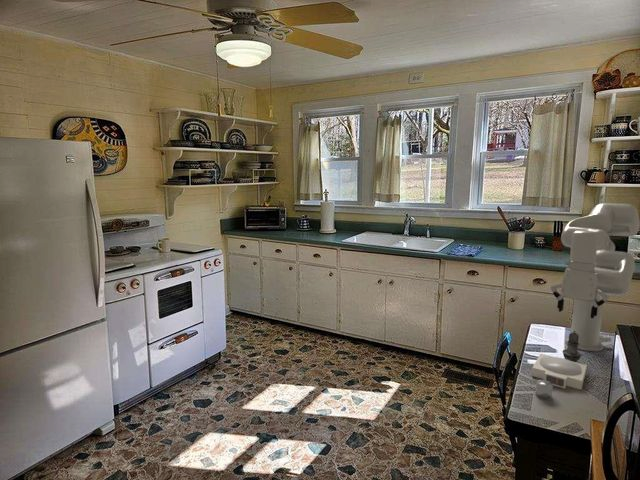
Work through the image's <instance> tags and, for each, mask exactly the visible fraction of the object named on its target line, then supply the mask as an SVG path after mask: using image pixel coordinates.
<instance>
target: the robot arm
mask: <svg viewBox="0 0 640 480" xmlns="http://www.w3.org/2000/svg"><path fill="white" fill-rule="evenodd" d="M639 231H640V217H639V212H638V209H637V208H636V207H635V205H633V204H629V203H614V202H607V203H606V202H603V203H598V204H597V205H595V206H594V207H593V208H592V210H591V211H590V213H589V214H588V215H586V216H582V217H578V218H575V219H571V220H570V221H569V222H567V223H566V225H565V227H564V228H563V230H562V232H561V235H560V236H561V237H560V241H561V243H562V245H563V246H564V247H566V248H570V252H569V253H570V254H569V259H568V260H564V266H567V268H565V270H564V273H563V277H562V283H558V284H554V285H552V286H550V290H551V292H552V294H553V296H554V297H555V298H556V300H557V309H558V312H559V313H561V312H563V311H564V304H565V299H564V298H567V299H572V300H573V310H572V318H571V325H570V333H573V331H575V333H577V334H578V335H579V338H578V343H579V345H578V350H582V351H586V352H600V351H602V350H603V349H604V345H603V344H602V343H604V342H605V343H611V342H612V337H611V336H603V335H602V334H601V327H602V318H603V311H604V304H605V303H606V301H607V300H608V299H610V296H616V297H623V296H625V295H627V293H629V289H630V286H631V283H632V279H633V274H634V271H635V266H636V263H635V257H634V256H633V255H632V254H631V253H629V252H626V251H618V250H616V245H615V242H613V241H612V240H611V239H610V238H611V237H610V236H617V237H618V236H620V237H634V236H637V234H638V233H639ZM558 289H560V293H559V292H558ZM601 297H602V298H601ZM567 341H569V336H567V337H565V339H564V342H565V344H566V345H568V343H567Z"/></svg>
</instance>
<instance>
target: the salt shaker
mask: <svg viewBox="0 0 640 480" xmlns="http://www.w3.org/2000/svg"><path fill="white" fill-rule="evenodd" d="M568 337H569V341H567V343H568V344H567V343H566V344H567V348H566V349H563V350H562V351H561V352H562V355H563V357H564V359H567V360H570V361H573V362H577V363H580V362H579V360H580V359H581V357H582V356H583V355H582V353H580V352H579V349H578V345H579V343H578V338H579V335H578V334H577V333H575V331H573V333H571V332H569V335H568Z"/></svg>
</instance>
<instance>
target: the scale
mask: <svg viewBox="0 0 640 480" xmlns="http://www.w3.org/2000/svg"><path fill="white" fill-rule="evenodd" d="M577 362H578V361H577ZM577 362H573V361H570V360H567V359H566V358H562V357H558V356H552V355H548V354H545V353H544V354H543V353H539V356H538V357H537V359H536V361H535V362H534V364H533V366H532V367H531V368H532V369H531V377H534V378H537V379H540V380H546V381H549V382H551V383H552V384H553V387H554V386H555V387H556V388H557V387H558V388H561V389H565V390H566V388H567V387H570V388H574V389H577V390H582V389H583V385H584V382H585V379H586V375H587V369H588V364H585V363H580V362H579V363H577Z"/></svg>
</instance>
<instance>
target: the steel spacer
mask: <svg viewBox="0 0 640 480" xmlns="http://www.w3.org/2000/svg"><path fill="white" fill-rule="evenodd" d="M535 382H536V383H535V392H534V395H535V396H536V397H538V398H539V399H542V400H546V401H547V400H551V399H552V398H553V390H554V389H553V388H554V385H553V384H552V383H551V382H549V381H546V380H544V379H538V380H536V381H535Z"/></svg>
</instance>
